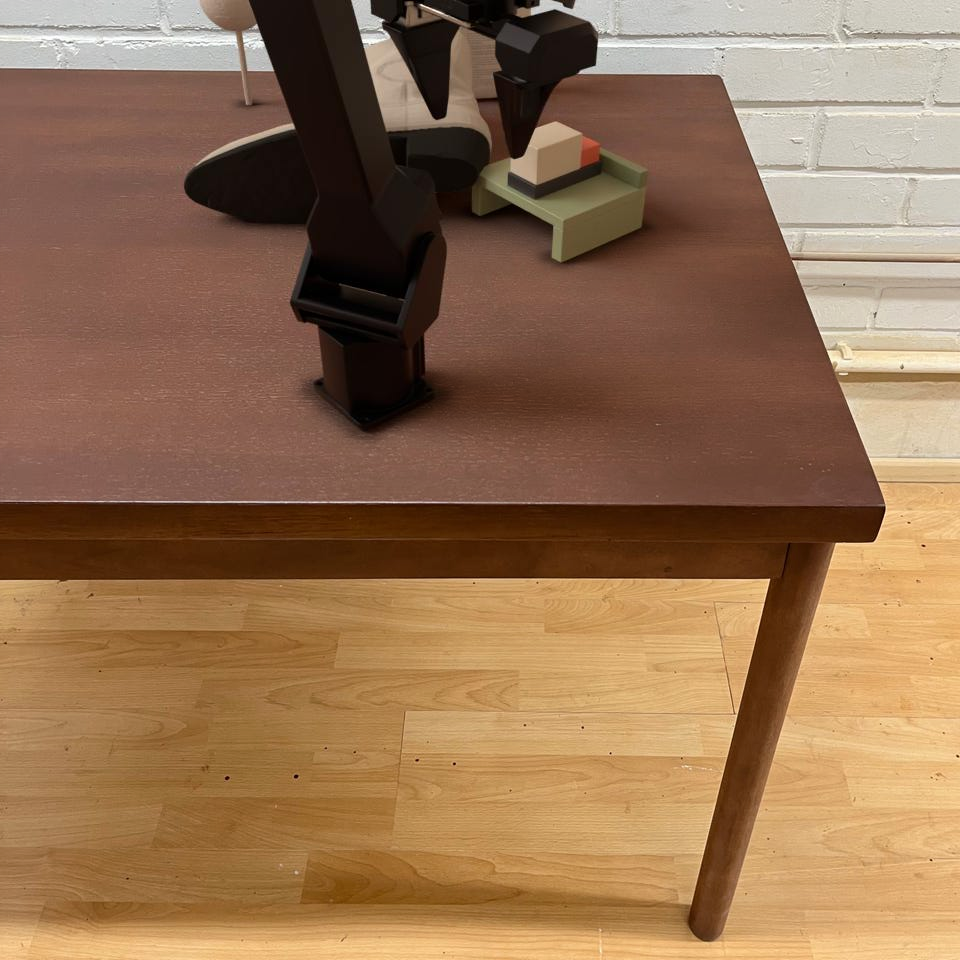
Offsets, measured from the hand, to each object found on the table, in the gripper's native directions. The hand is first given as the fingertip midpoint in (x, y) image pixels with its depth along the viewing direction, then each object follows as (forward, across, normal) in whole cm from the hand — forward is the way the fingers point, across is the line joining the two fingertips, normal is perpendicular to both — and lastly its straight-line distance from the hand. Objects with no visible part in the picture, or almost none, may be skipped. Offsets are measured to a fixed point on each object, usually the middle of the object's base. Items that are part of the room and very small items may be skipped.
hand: (477, 137), depth 76 cm
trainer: (+8, +3, -12) cm, 14 cm away
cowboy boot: (+11, +24, -4) cm, 27 cm away
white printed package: (+12, +30, -26) cm, 41 cm away
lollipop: (+12, +44, -4) cm, 46 cm away
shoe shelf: (+12, +3, -12) cm, 17 cm away
